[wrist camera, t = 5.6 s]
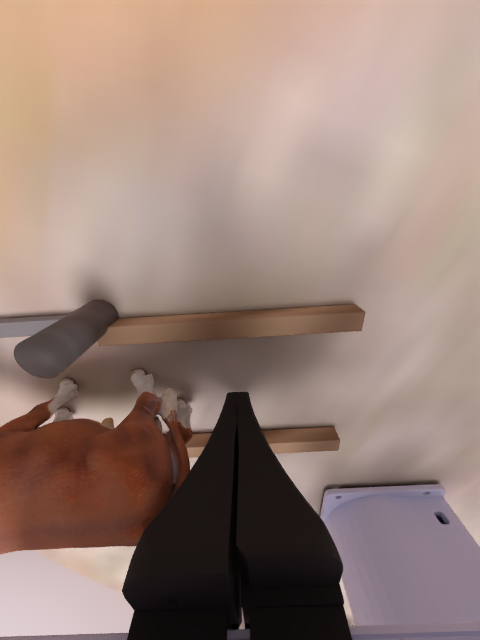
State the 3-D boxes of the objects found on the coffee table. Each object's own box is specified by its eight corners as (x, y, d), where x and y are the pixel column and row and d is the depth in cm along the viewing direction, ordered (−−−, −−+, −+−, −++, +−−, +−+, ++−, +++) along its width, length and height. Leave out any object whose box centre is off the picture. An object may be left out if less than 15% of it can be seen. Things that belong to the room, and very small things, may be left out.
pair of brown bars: (358, 283, 11) (419, 317, 7) (330, 446, 16) (357, 514, 12) (81, 300, 11) (5, 341, 7) (142, 456, 16) (115, 524, 13)
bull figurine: (-27, 367, 13) (-393, 574, 5) (205, 362, 13) (159, 564, 5) (8, 420, 15) (-227, 629, 7) (211, 416, 15) (183, 621, 7)
